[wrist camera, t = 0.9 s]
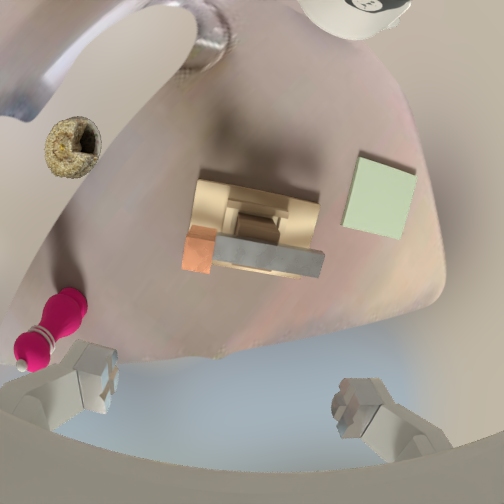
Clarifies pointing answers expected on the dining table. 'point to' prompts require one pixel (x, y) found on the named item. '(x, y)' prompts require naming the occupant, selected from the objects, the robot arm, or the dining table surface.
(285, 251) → the bar
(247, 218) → the walnut block
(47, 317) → the pepper mill
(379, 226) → the sage pad
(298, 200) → the well board
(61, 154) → the cake
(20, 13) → the dining table surface
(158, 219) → the dining table surface
